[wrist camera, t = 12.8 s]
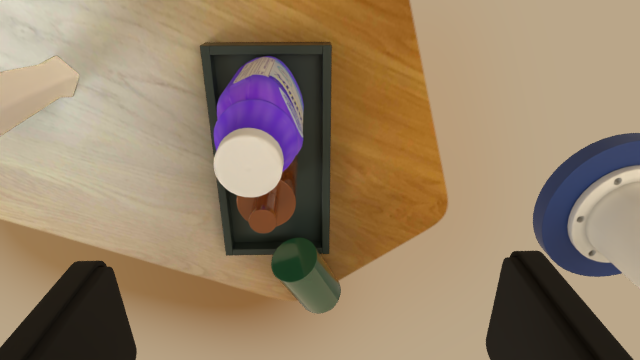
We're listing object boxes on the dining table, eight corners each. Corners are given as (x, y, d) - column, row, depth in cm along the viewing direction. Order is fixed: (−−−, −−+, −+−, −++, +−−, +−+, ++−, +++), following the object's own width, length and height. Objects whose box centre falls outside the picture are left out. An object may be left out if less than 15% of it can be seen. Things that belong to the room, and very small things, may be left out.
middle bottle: (297, 137, 41) (293, 192, 31) (298, 181, 44) (295, 247, 33) (248, 138, 41) (227, 194, 30) (251, 182, 43) (233, 248, 33)
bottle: (313, 114, 40) (317, 198, 25) (262, 136, 41) (234, 231, 26) (280, 44, 37) (262, 89, 22) (226, 69, 38) (170, 131, 23)
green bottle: (326, 249, 41) (354, 294, 50) (290, 230, 44) (323, 276, 53) (297, 291, 39) (332, 330, 48) (261, 268, 42) (300, 309, 51)
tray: (330, 41, 38) (331, 45, 36) (328, 243, 48) (329, 253, 46) (205, 42, 38) (199, 45, 36) (229, 244, 48) (226, 255, 46)
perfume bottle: (55, 109, 40) (-73, 174, 27) (23, 68, 38) (-131, 116, 25) (94, 90, 39) (-18, 147, 26) (63, 47, 37) (-74, 84, 24)
